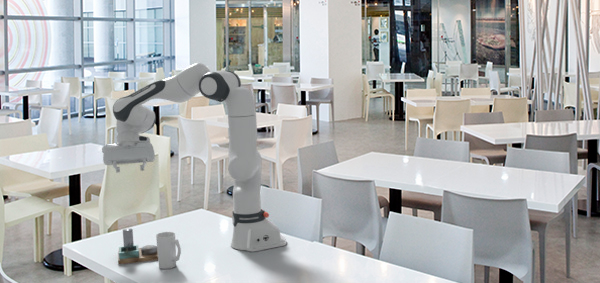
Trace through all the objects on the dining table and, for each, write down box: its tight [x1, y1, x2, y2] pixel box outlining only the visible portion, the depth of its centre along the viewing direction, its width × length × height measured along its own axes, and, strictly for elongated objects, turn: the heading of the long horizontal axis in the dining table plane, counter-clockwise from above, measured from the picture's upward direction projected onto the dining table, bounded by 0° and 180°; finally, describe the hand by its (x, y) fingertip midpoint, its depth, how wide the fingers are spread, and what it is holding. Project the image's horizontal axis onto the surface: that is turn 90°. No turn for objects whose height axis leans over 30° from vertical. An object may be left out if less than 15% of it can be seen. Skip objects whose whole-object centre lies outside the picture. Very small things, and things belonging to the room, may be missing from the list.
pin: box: [122, 228, 135, 252], centre depth 217 cm, size 4×4×10 cm
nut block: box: [117, 244, 158, 265], centre depth 219 cm, size 15×12×4 cm
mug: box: [155, 231, 182, 270], centre depth 208 cm, size 10×7×12 cm, turn 60°
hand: (130, 170), depth 228 cm, fingers open, 8 cm apart
